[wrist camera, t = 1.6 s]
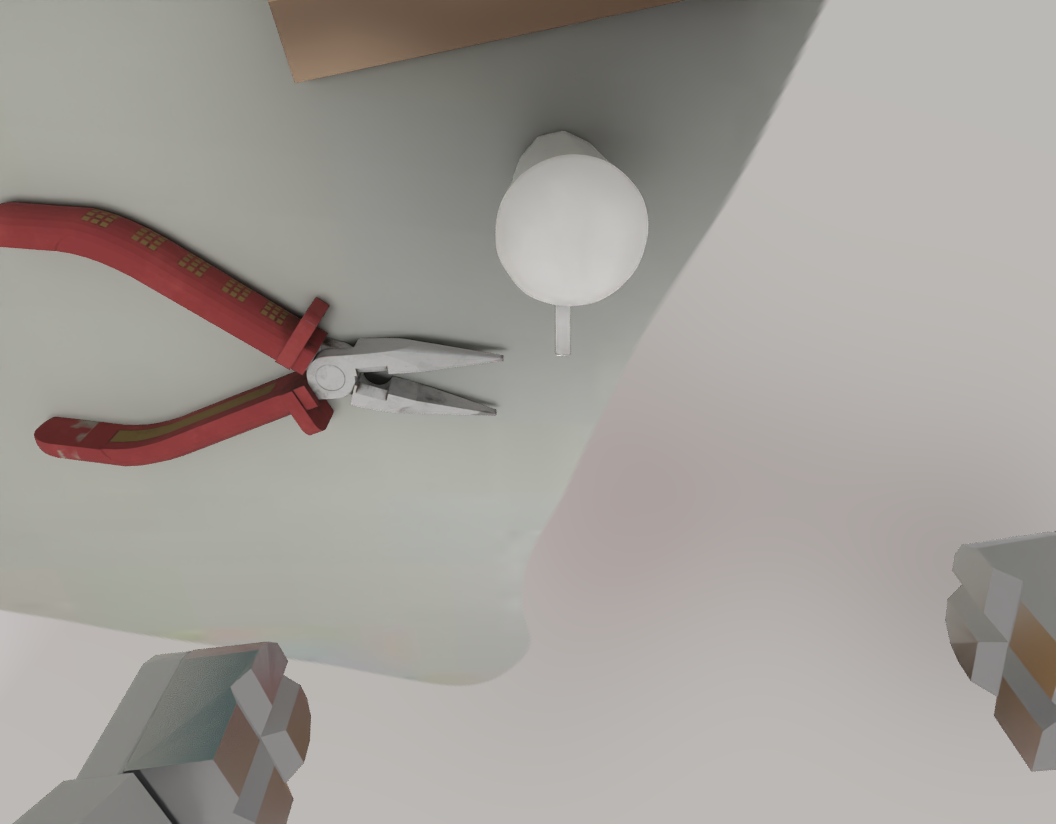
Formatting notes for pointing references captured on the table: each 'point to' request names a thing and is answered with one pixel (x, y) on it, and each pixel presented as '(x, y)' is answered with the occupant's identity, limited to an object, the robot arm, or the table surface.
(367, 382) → the pliers
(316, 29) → the wooden frame
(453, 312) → the table surface
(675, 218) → the table surface
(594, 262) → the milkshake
